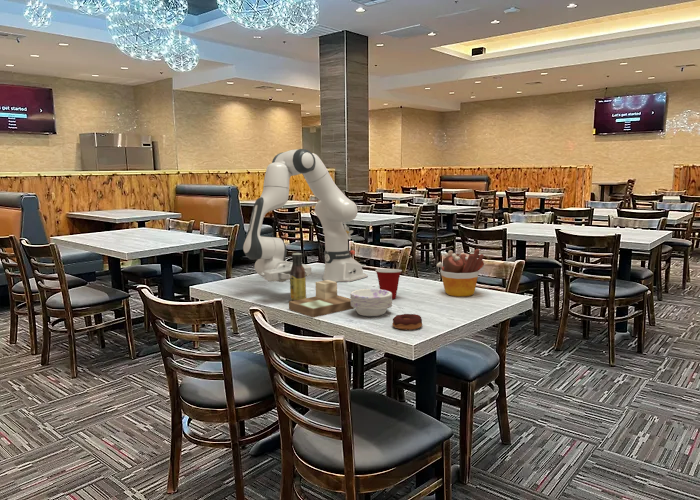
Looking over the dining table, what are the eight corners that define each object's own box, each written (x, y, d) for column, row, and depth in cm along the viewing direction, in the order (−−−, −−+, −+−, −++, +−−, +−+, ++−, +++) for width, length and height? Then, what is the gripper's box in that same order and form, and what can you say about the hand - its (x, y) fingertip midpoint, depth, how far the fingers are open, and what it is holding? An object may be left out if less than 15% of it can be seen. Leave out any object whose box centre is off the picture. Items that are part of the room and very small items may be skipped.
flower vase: (344, 272, 278) (343, 224, 274) (318, 268, 289) (316, 222, 286) (359, 268, 288) (358, 222, 284) (333, 265, 299) (332, 220, 296)
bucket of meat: (429, 292, 227) (429, 246, 224) (458, 287, 236) (458, 242, 233) (463, 301, 211) (464, 251, 208) (493, 295, 219) (493, 247, 217)
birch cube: (328, 294, 215) (327, 279, 214) (337, 297, 210) (336, 282, 209) (315, 297, 211) (315, 282, 210) (324, 299, 206) (324, 284, 205)
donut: (386, 328, 178) (386, 316, 178) (403, 321, 186) (403, 310, 185) (411, 333, 172) (411, 321, 171) (428, 326, 179) (428, 315, 178)
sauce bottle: (290, 300, 219) (289, 252, 216) (306, 300, 219) (304, 251, 216) (290, 304, 212) (288, 254, 209) (306, 303, 213) (304, 254, 210)
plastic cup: (404, 295, 223) (404, 267, 221) (398, 301, 213) (398, 272, 211) (379, 294, 226) (379, 266, 225) (372, 300, 216) (371, 271, 214)
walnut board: (330, 300, 217) (330, 292, 217) (356, 307, 205) (355, 299, 204) (288, 309, 205) (288, 301, 204) (313, 317, 192) (312, 308, 192)
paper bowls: (395, 308, 202) (394, 288, 201) (388, 319, 187) (388, 297, 186) (355, 307, 205) (355, 287, 204) (346, 318, 191) (345, 296, 190)
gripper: (257, 266, 217) (275, 271, 206) (300, 260, 230) (318, 264, 219) (258, 282, 218) (276, 287, 207) (300, 275, 231) (319, 279, 220)
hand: (298, 275), depth 213 cm, fingers closed on sauce bottle, 6 cm apart
